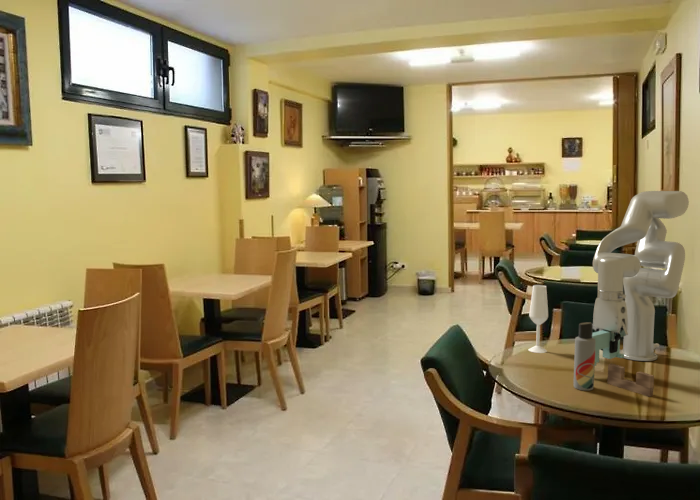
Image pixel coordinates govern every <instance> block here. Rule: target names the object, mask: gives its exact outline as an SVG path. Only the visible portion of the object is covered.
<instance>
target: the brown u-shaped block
mask: <svg viewBox="0 0 700 500" xmlns="http://www.w3.org/2000/svg"><path fill="white" fill-rule="evenodd" d="M625 370H626V369H625V367H624V366H622V365H618V364H615V363H609V364H608V365H607V384H608V385H612V386H615V387H617V388H621V389H623V390H627V391H630V392H633V393H636V394H641V395H643V396H646V397H653V396H654V383H655V382H654V381H655V376H654V374H650V373H646V372H643V371H637V372H635V373H636V374H635V381H633V380H630V379H627V378H625Z"/></svg>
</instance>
